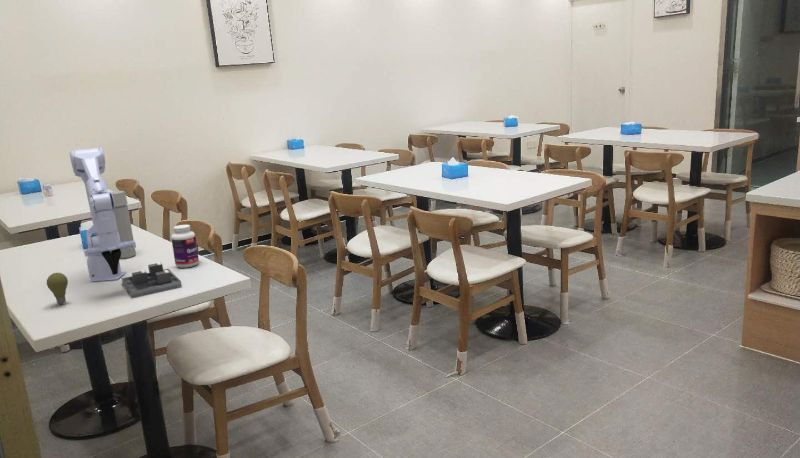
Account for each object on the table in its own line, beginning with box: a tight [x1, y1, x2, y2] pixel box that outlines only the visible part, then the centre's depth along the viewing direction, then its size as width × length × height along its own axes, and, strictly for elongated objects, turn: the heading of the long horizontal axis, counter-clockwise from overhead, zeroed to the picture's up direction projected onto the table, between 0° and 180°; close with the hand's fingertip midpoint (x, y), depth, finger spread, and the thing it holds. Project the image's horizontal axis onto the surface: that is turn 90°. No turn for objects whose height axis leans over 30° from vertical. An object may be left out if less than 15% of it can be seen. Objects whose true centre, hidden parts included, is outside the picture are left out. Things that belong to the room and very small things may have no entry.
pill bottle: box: [170, 224, 200, 269], centre depth 216 cm, size 8×8×14 cm
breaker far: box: [147, 261, 164, 277], centre depth 203 cm, size 4×3×4 cm
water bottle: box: [110, 190, 137, 260], centre depth 231 cm, size 9×8×25 cm
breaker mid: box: [131, 269, 148, 285], centre depth 196 cm, size 4×3×4 cm
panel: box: [120, 268, 182, 299], centre depth 198 cm, size 15×17×2 cm
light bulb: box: [46, 272, 69, 306], centre depth 185 cm, size 6×6×10 cm
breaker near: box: [155, 269, 172, 285], centre depth 194 cm, size 4×3×4 cm
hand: (115, 273), depth 191 cm, fingers closed
